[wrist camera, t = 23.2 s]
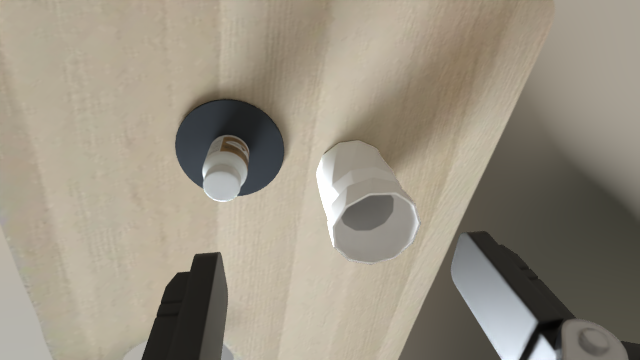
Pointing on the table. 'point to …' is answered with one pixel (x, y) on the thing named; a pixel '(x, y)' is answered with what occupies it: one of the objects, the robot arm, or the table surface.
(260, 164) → the rubber mat
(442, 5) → the table surface
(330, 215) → the vase
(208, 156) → the pill bottle
